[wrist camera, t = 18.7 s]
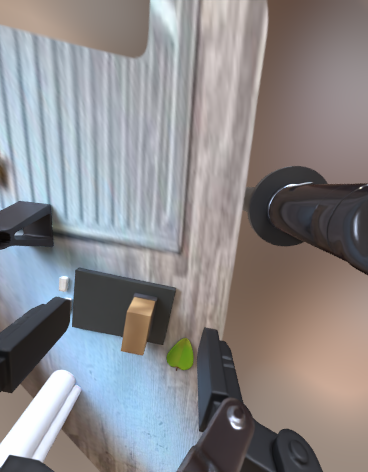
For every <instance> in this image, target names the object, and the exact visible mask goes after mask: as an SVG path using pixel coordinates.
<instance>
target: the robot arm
mask: <svg viewBox="0 0 368 472" xmlns="http://www.w3.org/2000/svg"><path fill="white" fill-rule="evenodd" d="M308 183H312V182H308ZM303 184H307V183H303ZM267 217H268V220H269V222H270V223H271V224H272V226H274V227H275V228H276V229H278V230H281V231H283V232H286V233H288V234H290V235H292V236H294V237H296V238H298V239H300V240H302V241H304V242H306V243H308V244H311V245H313V246H315V247H317V248H319V249H321V250H323V251H325V252H327V253H330V254H332V255H334V256H336V257H338V258H340V259H342V260H344V261H346V262H348V263H349V264H350V265H351V266H352V267H354V268H356V269H357V270H359V271H361V272H362V273H364V274H366V275H368V183H364V184H363V183H360V184H313V185H302V184H291V185H286V186H284V187H282V188H280V189H278V190H277V191H276V192H275V193H274V194H273V195H272V196H271V198H270V200H269V202H268V205H267ZM70 310H71V301H70V299H65V298H60V297H54V298H53V299H52V300H50V301H49V302H48V303H47V304H41V305H39V306H37V307H35V308H32V309H31V310H29V311H28V312H27V313H25V314H24V315H23V316H22V317H20V318H19V319H17V320H16V321H15V322H14V323H12V324H11V325H10V326H8V327H7V328H6V329H4V330H3V331H2V332H0V392H1V391H3V392H8V393H12V392H13V391H14V390H15V389H16V388H17V387H18V386H19V384H20V383H21V382H22V381H23V380H24V379H25V378H26V376H27V375H28V374H29V373H30V372H31V371H32V370H33V368H34V367H35V366H36V365H37V364H38V363H39V362H40V360H41V359H42V358H43V357H44V356H45V355H46V354H47V352H48V351H49V350H50V349H51V348H52V347H53V346H54V344H55V343H56V342H57V341H58V340H59V339H60V338H61V336H62V335H63V334H64V333H65V332H66V330H67V328H68V326H69V323H70ZM197 373H198V409H199V431H200V432H203V434H202V436H201V437H200V439H199V441H198V442H197V444H196V445H195V446H193V447H192V448H191V449H190V450H189V452H188V454H187V455H186V457H185V458H184V460H183V462H182V463H181V465H180V466H179V468H178V470H177V471H176V472H323V471H322V469H321V467H320V464H319V461H318V459H317V457H316V455H315V453H314V451H313V449H312V448H311V447H310V445H309V444H308V443H307V442H306V441H305V439H304V438H303V437H301V436H300V435H299V434H297V433H296V432H294V431H292V430H290V429H282V430H281V431H280V432H279V433H278V434H276V433H275V432H273V431H271V430H270V429H268V428H266V427H265V426H263V425H261V424H259V423H258V422H257V421H256V420H255V419H254V418H253V417H252V414H251V412H250V411H249V409H248V408H247V407H246V405H245V404H244V403H243V400H242V396H241V392H240V387H239V384H238V379H237V375H236V370H235V366H234V362H233V358H232V353H231V350H230V348H229V346H228V345H227V344H226V342H225V341H220V340H219V335H218V331H217V330H215V329H210V328H206V327H205V328H204V330H203V333H202V337H201V341H200V344H199V348H198V354H197ZM0 472H54V471H53V470H51V469H50V468H49V467H48V466H46V465H45V464H43V463H42V462H41V461H39V460H36V459H30V458H25V457H20V456H15V455H10V454H9V456H8V457H7V459H6V460H5V462H4V463H3V465H2V466H1V467H0Z"/></svg>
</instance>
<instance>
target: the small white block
mask: <svg viewBox="0 0 368 472" xmlns="http://www.w3.org/2000/svg"><path fill="white" fill-rule="evenodd" d="M68 283H69V277H64V276H62V277H60V278H59V291H63V292H66V291H67V290H68Z"/></svg>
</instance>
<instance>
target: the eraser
mask: <svg viewBox="0 0 368 472" xmlns="http://www.w3.org/2000/svg"><path fill="white" fill-rule="evenodd" d="M156 302H157V297H153V296H148V295H143V294H138V293H135V294H134V296H133V301H132V303H131V304H130V306H129V308H128V310H127V314H126V321H125V327H124V334H123V340H122V347H121V351H123V352H128V353H133V354H138V355H143V354H144V351H145V347H146V344H147V340H148V338H149V336H150V332H151V327H152V322H153V317H154V312H155V307H156Z"/></svg>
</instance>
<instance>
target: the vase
mask: <svg viewBox="0 0 368 472" xmlns="http://www.w3.org/2000/svg"><path fill="white" fill-rule="evenodd" d="M75 382H76V381H75V377H74V376H73V375H72V374H71V373H70V372H68V371H64V370H58V371H55V372H53V374H52V375H51V376H50V378H49V379H48V380H47V382H46V383H45V384H44V386H43V387H42V388H41V390H40V391H39V393H38V394H37V395H36V397H35V398H34V399H33V401H32V402H31V403H30V405H29V406H28V407H27V409H26V410H25V412H24V413H23V414H22V416H21V417H20V418H19V420H18V421H17V422H16V424H15V425H14V426H13V428H12V429H11V431H10V432H9V433H8V434H7V436H6V437H5V439H4V440H3V441H2V442H1V444H0V467H1V466H2V465H3V463H4V462H5V460H6V459H7V457H8V456H9V454H10V455H15V456H20V457H25V458H30V459H36V460H39V461H41V462H42V463H43V461H44V460H45V458H46V456H47V454H48V452H49V450H50V448H51V446H52V445H53V443H54V441H55V439H56V437H57V435H58V433H59V432H60V430H61V428H62V426H63V424H64V422H65V420H66V419H67V417H68V415H69V413H70V411H71V409H72V407H73V405H74V404H75V402H76V400H77V398H78V396H79V394H80V392H81V388H80V387H79V386H77V385H75Z"/></svg>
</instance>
